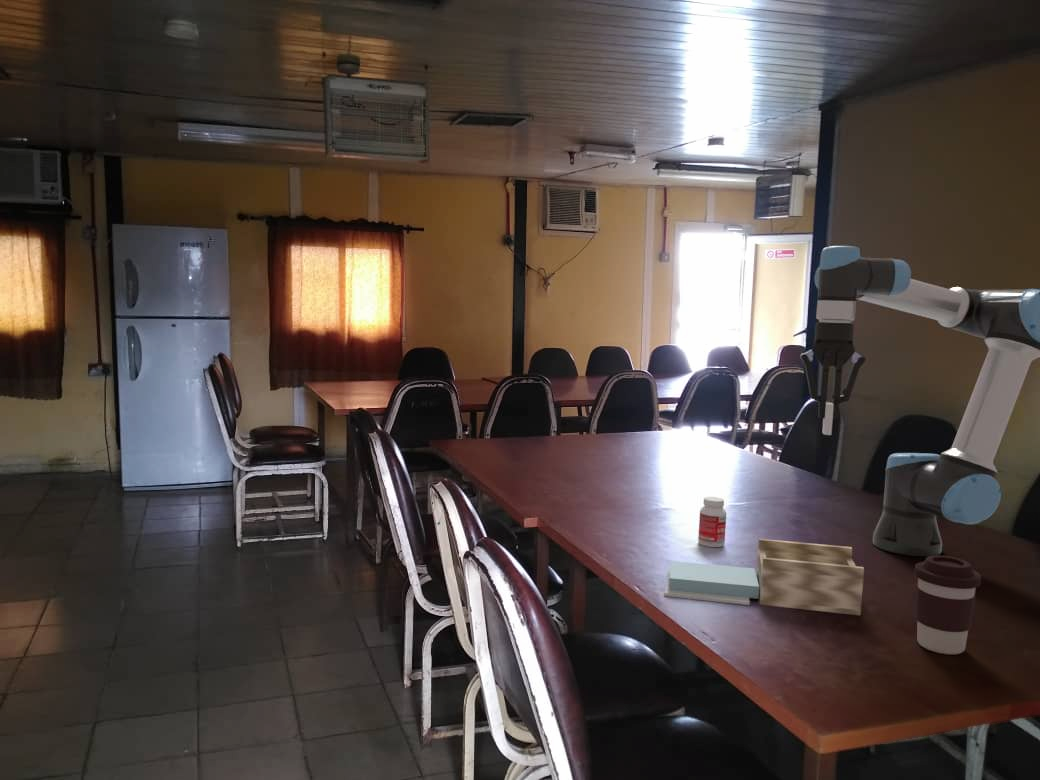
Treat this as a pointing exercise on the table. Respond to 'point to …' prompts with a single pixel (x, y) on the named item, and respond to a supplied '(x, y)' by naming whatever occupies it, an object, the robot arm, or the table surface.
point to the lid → (713, 579)
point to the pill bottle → (712, 523)
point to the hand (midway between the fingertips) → (826, 433)
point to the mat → (704, 595)
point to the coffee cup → (945, 603)
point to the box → (809, 577)
